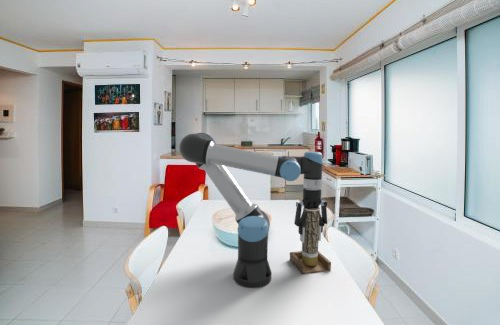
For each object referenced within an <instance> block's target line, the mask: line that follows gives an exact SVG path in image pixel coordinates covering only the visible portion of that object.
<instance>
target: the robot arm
mask: <svg viewBox="0 0 500 325" xmlns="http://www.w3.org/2000/svg"><path fill="white" fill-rule="evenodd" d="M179 153H180V155H181V157H182V159H184V160H185V161H187V162H188V163H193V164H195V165H196V166H197V168H198V169H199V170H204V171H205V173H206V175H207V176H208V177H209V179H210V180H211V181H212V183H213V184H214V186H215V187H216V188H217V191H218V192H219V193H220V195H221V196H222V197H223V198H224V200H225V201H226V203H227V204H228V206H229V207H230V208H231V210H232V211H233V213H234V214H235V219H234V220H235V222H236V223H237V225H238V226H237V246H238V247H237V260H236V264H235V267H234V269H233V280H234V282H235V283H236V284H238V285H240V286H241V287H245V288H251V289H253V288H254V289H255V288H260V287H264V286H267V285H269V283H270V282H271V281H272V269H271V266H270V263H269V260H268V247H269V246H268V243H269V242H268V240H269V232H270V227H271V226H270V225H271V223H270V219H269V217H268V214H266V213H265V211H263V210H262V209H261V208H260V207H259V206H258V204H256V203H253V202H251V200H250V198H249V197H248V196H247V195H246V193H245V192H244V190H243V188H242V187H241V186H240V184H239V183H238V182H237V180H236V178H235V177H234V176H233V174H232V173H231V172H230V170H229V168H234V169H238V170H243V171H248V172H252V173H258V174H263V175H267V176H272V177H277V178H281V179H283V180H285V181H287V182H294V181H296V180H298V178H299V177H300V175H303V184H302V185H303V189H302V200H301V201H299V202H298V201H297V202H296V203H295V205H296V210H295V216H294V225H295V226H296V227H298V234H299V241H300V242H301V243H302V242H304V237H305V227H303V226H304V223H305V220H306V213H304V212H303V209H302V208H304V207H305V208H307V209H311V208H320V209H321V210H320V215H319V239H318V242H321V239H322V234H323V232H324V230H323V229H324V227H325V225H327V224H328V213H327V212H328V211H327V206H328V202H327V201H326V200H322V199H321V198H322V184H323V182H322V181H323V180H322V179H323V165H324V164H323V154H322V152H319V151H305V152H304V154H303V155H302V156H294V155H292V156H290V155H286V156H285V155H279V156H276V155H275V156H274V155H270V154H265V153H261V152H255V151H251V150H245V149H241V148H237V147H236V148H235V147H233V146H232V147H231V146H226V145H221V144H217V142H216V141H215V139H214V138H213V136H211V135H210V134H208V133H205V132H196V133H189V134H187V135H185V136H184V137H182V139H181V140H180V143H179ZM228 167H229V168H228Z"/></svg>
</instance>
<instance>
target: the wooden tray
mask: <svg viewBox="0 0 500 325" xmlns="http://www.w3.org/2000/svg"><path fill="white" fill-rule="evenodd" d="M289 261H290V262H291V263H292V264H293V265H294V267H295V268H297V270H298V271H299V272H300V273H301V274H302V275H307V274H315V273H322V272H328V271H329V272H330V271H331V270H332V262H331V261H330V260H329V259H328V258H326V257H325V255H323V254H322V253H321V252H320V251H319V250H318V261H317V265H315V266H306V265H304V264H303V263H302V250H299V251H298V250H297V251H291V252H289Z"/></svg>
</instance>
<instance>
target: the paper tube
mask: <svg viewBox="0 0 500 325" xmlns="http://www.w3.org/2000/svg"><path fill="white" fill-rule="evenodd" d="M302 208H303V209H302V213H303V212H304V213H306V220H305V223H304V226H303V227H305V237H304V242H301V243H302V244H301V246H302V247H301V251H302V263H303V264H304V265H306V266H315V265H317V261H318V251H319V240H318V239H319V215H320V214H321V210H320V209H321V207H319V208H311V209H307V208H305V207H304V206H303V207H302Z"/></svg>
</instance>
